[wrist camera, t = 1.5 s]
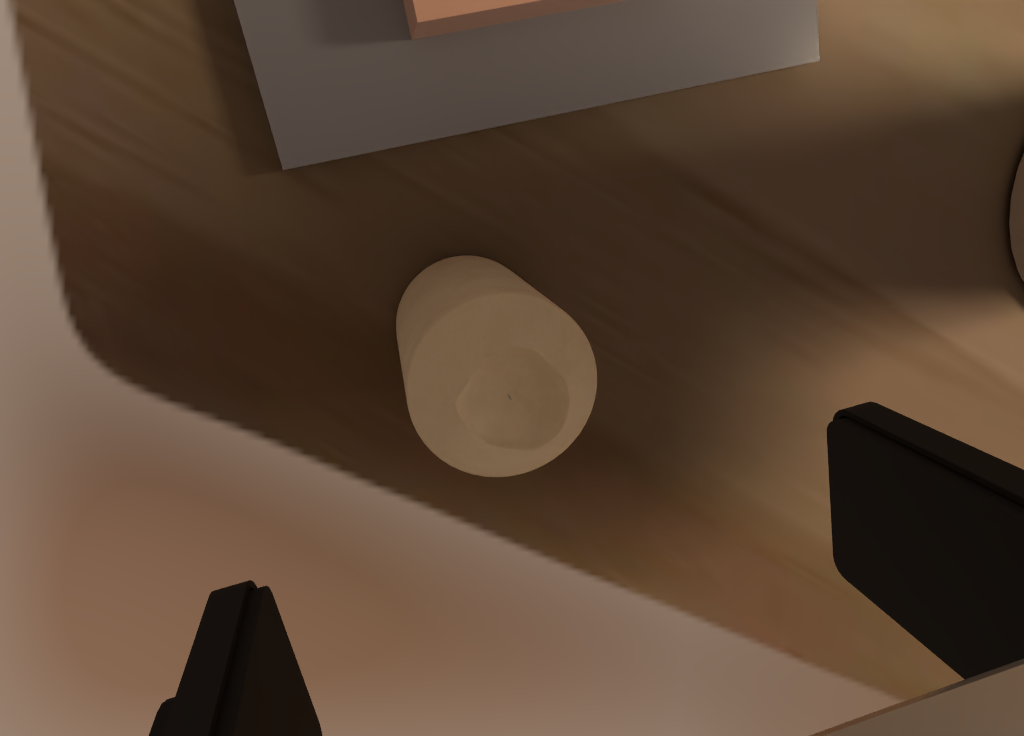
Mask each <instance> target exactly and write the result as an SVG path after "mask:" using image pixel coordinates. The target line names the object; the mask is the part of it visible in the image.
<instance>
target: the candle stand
mask: <svg viewBox="0 0 1024 736" xmlns="http://www.w3.org/2000/svg"><path fill="white" fill-rule="evenodd" d="M234 3H235V6H236V10H237V13H238V17H239V20H240V24H241V27H242V30H243V34H244V37H245V41H246V44H247V48H248V51H249V55H250V58H251V62H252V65H253V68H254V72H255V75H256V79H257V82H258V86H259V89H260V93H261V96H262V99H263V103H264V106H265V110H266V113H267V117H268V120H269V124H270V127H271V131H272V134H273V137H274V141H275V144H276V148H277V151H278V155H279V158H280V162H281V165H282V168H283V170H289V169H294V168H299V167H304V166H309V165H314V164H319V163H323V162H328V161H333V160H338V159H343V158H348V157H353V156H358V155H363V154H368V153H373V152H378V151H382V150H387V149H392V148H397V147H402V146H407V145H412V144H417V143H422V142H427V141H432V140H437V139H441V138H446V137H451V136H456V135H461V134H466V133H471V132H476V131H481V130H486V129H491V128H495V127H500V126H505V125H510V124H515V123H520V122H525V121H530V120H535V119H540V118H545V117H550V116H554V115H559V114H564V113H569V112H574V111H579V110H584V109H589V108H594V107H599V106H604V105H609V104H613V103H618V102H623V101H628V100H633V99H638V98H643V97H648V96H653V95H658V94H663V93H667V92H672V91H677V90H682V89H687V88H692V87H697V86H702V85H707V84H712V83H717V82H722V81H726V80H731V79H736V78H741V77H746V76H751V75H756V74H761V73H766V72H771V71H776V70H781V69H785V68H790V67H795V66H800V65H804V64H809V63H813V62H817V61H820V57H819V36H818V15H817V0H234Z"/></svg>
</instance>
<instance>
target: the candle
mask: <svg viewBox="0 0 1024 736" xmlns="http://www.w3.org/2000/svg"><path fill="white" fill-rule="evenodd" d="M396 335H397V342H398V348H399V355H400V361H401V367H402V373H403V380H404V386H405V392H406V398H407V405H408V410H409V414H410V417H411V420H412V423H413V425H414V427H415V429H416V431H417V433H418V435H419V436H420V438H421V439H422V441H423V442H424V443H425V445H426V446H427V447H428V448H429V449H430V450H431V451H432V452H433V453H434V454H435V455H436V456H437V457H439V458H440V459H441V460H443V461H444V462H446V463H447V464H449V465H450V466H452V467H454V468H457V469H459V470H461V471H464V472H467V473H470V474H473V475H479V476H484V477H508V476H514V475H519V474H523V473H526V472H529V471H532V470H534V469H537V468H539V467H541V466H543V465H545V464H547V463H548V462H550V461H552V460H553V459H555V458H556V457H557V456H558V455H560V454H561V453H562V452H564V451H565V450H566V449H567V448H568V447H569V446H570V445H571V444H572V443H573V441H574V440H575V439H576V438H577V436H578V435H579V434H580V432H581V431H582V429H583V427H584V426H585V424H586V422H587V420H588V418H589V416H590V414H591V411H592V408H593V405H594V401H595V396H596V391H597V368H596V363H595V358H594V354H593V351H592V348H591V346H590V343H589V341H588V339H587V338H586V336H585V334H584V332H583V331H582V330H581V328H580V327H579V325H578V324H577V323H576V322H575V321H574V320H573V319H572V318H571V317H570V316H569V315H568V314H567V313H566V312H564V311H563V310H562V309H561V308H559V307H558V306H557V305H555V304H554V303H553V302H551V301H550V300H549V299H548V298H546V297H545V296H544V295H542V294H541V293H540V292H538V291H537V290H536V289H534V288H533V287H532V286H530V285H529V284H528V283H526V282H525V281H524V280H522V279H521V278H520V277H518V276H517V275H516V274H515V273H513V272H512V271H511V270H509V269H508V268H506V267H504V266H503V265H501V264H499V263H498V262H495V261H493V260H490V259H487V258H484V257H480V256H472V255H461V256H454V257H450V258H446V259H443V260H440V261H438V262H436V263H434V264H432V265H430V266H429V267H427V268H426V269H424V270H423V271H422V272H420V273H419V274H418V275H417V276H416V277H415V278H414V279H413V280H412V282H411V283H410V284H409V286H408V287H407V289H406V290H405V292H404V294H403V296H402V298H401V301H400V303H399V307H398V311H397V318H396Z"/></svg>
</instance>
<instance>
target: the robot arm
mask: <svg viewBox="0 0 1024 736" xmlns="http://www.w3.org/2000/svg"><path fill="white" fill-rule="evenodd" d="M1009 227H1010V238H1011V249H1012V252H1013V256H1014V259H1015V263H1016V266H1017V270H1018V272H1019V274H1020V276H1021V278H1022V279H1023V281H1024V154H1023V156H1022V159H1021V161H1020V164H1019V166H1018V169H1017V174H1016V178H1015V182H1014V187H1013V191H1012V195H1011V206H1010V219H1009ZM827 445H828V465H829V484H830V504H831V523H832V542H833V557H834V562H835V565H836V567H837V569H838V571H839V572H840V574H841V575H842V576H843V577H844V578H845V579H846V580H847V581H848V582H849V583H851V584H852V585H853V586H854V587H855V588H857V589H858V590H859V591H860V592H861V593H862V594H864V595H865V596H866V597H867V598H868V599H870V600H871V601H872V602H873V603H874V604H876V605H877V606H878V607H879V608H880V609H882V610H883V611H884V612H885V613H886V614H887V615H889V616H890V617H891V618H892V619H893V620H895V621H896V622H897V623H898V624H899V625H901V626H902V627H903V628H904V629H905V630H907V631H908V632H909V633H910V634H911V635H912V636H914V637H915V638H916V639H917V640H918V641H920V642H921V643H922V644H923V645H924V646H926V647H927V648H928V649H929V650H930V651H932V652H933V653H934V654H935V655H936V656H937V657H939V658H940V659H941V660H942V661H943V662H945V663H946V664H947V665H948V666H949V667H951V668H952V669H953V670H954V671H955V672H957V673H958V674H959V675H960V676H961V677H962V678H964V679H965V680H963V681H960V682H957V683H954V684H951V685H949V686H946V687H943V688H940V689H937V690H935V691H932V692H929V693H926V694H923V695H921V696H918V697H915V698H912V699H909V700H907V701H904V702H901V703H898V704H895V705H893V706H890V707H887V708H884V709H882V710H879V711H876V712H873V713H870V714H868V715H865V716H862V717H860V718H857V719H854V720H852V721H849V722H846V723H843V724H840V725H837V726H835V727H832V728H829V729H827V730H824V731H821V732H818V733H815V734H813V735H810V736H1024V470H1023V469H1021V468H1018V467H1016V466H1014V465H1012V464H1010V463H1007V462H1005V461H1003V460H1001V459H999V458H996V457H994V456H992V455H990V454H988V453H985V452H983V451H981V450H979V449H976V448H974V447H972V446H970V445H968V444H965V443H963V442H961V441H959V440H957V439H954V438H952V437H950V436H948V435H946V434H943V433H941V432H939V431H937V430H935V429H932V428H930V427H928V426H926V425H924V424H921V423H919V422H917V421H915V420H913V419H910V418H908V417H906V416H904V415H902V414H899V413H897V412H895V411H893V410H890V409H888V408H886V407H884V406H882V405H879V404H877V403H874V402H867V403H863V404H860V405H856V406H853V407H849V408H846V409H842V410H839V411H838V412H837V413H835V415H834V418H833V421H832V422H830V423H829V424H828V427H827ZM149 736H322V731H321V727H320V723H319V721H318V718H317V715H316V712H315V709H314V707H313V704H312V701H311V698H310V696H309V693H308V690H307V687H306V685H305V682H304V679H303V676H302V674H301V671H300V668H299V665H298V663H297V660H296V657H295V654H294V652H293V649H292V646H291V644H290V641H289V638H288V635H287V632H286V630H285V627H284V624H283V622H282V619H281V616H280V613H279V610H278V608H277V605H276V602H275V599H274V597H273V594H272V592H271V590H270V588H269V587H268V586H264V587H260V588H257V586H256V585H255V583H254V582H253V581H251V580H250V581H246V582H243V583H239V584H236V585H232V586H229V587H225V588H222V589H219V590H215V591H213V592H211V594H210V595H209V598H208V601H207V604H206V607H205V610H204V613H203V616H202V619H201V622H200V625H199V628H198V631H197V634H196V637H195V640H194V643H193V646H192V649H191V652H190V655H189V658H188V661H187V664H186V667H185V670H184V673H183V675H182V678H181V681H180V684H179V687H178V691H177V693H176V696H175V697H174V698H170V699H167V700H166V701H165V702H163V703H162V704H161V706H160V708H159V710H158V712H157V714H156V717H155V720H154V723H153V725H152V728H151V731H150V734H149Z"/></svg>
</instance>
